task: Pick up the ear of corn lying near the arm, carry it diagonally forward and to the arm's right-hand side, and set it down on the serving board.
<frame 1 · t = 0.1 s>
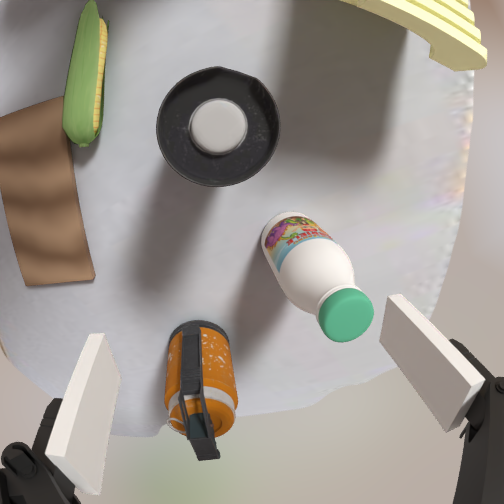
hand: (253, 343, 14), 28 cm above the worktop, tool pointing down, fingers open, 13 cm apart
milk bottle: (288, 237, 43), on the worktop
edible corn: (94, 69, 31), on the worktop
canister: (197, 335, 46), on the worktop
travel mug: (210, 128, 36), on the worktop
serving board: (39, 196, 35), on the worktop
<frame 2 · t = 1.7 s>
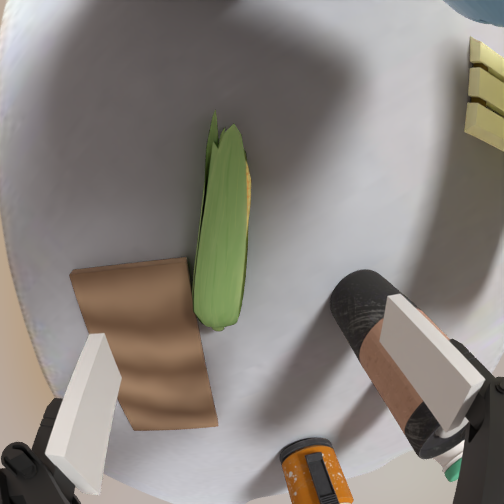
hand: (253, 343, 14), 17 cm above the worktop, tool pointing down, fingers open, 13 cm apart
milk bottle: (397, 371, 42), on the worktop
edible corn: (222, 220, 29), on the worktop
canister: (304, 445, 45), on the worktop
travel mug: (357, 296, 35), on the worktop
slatted curved stool: (503, 104, 28), on the worktop
serving board: (152, 360, 34), on the worktop
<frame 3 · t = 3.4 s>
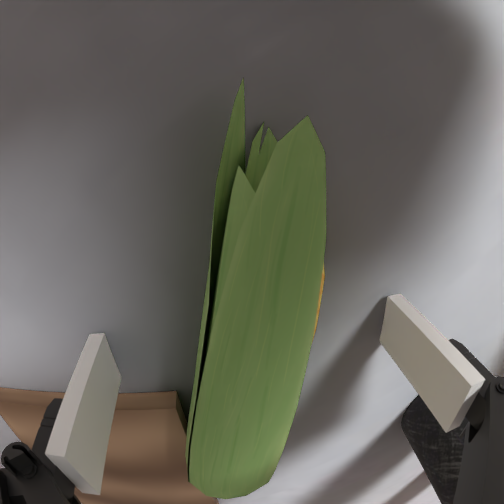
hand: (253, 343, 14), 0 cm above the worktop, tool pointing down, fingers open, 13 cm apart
edible corn: (244, 327, 14), on the worktop
travel mug: (437, 400, 20), on the worktop
serving board: (138, 490, 18), on the worktop
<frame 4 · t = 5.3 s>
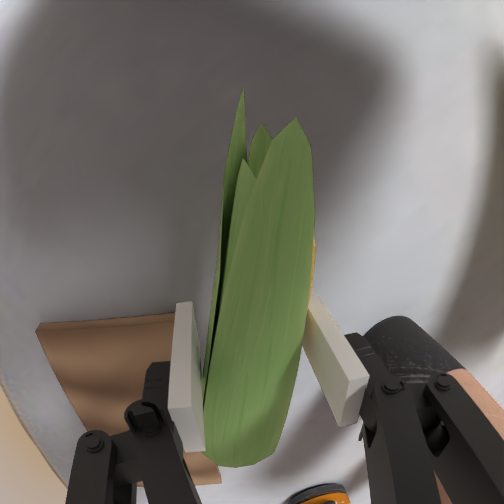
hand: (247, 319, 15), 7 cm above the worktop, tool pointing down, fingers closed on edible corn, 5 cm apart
edible corn: (248, 303, 16), point 6 cm above the worktop, touching gripper
canister: (315, 490, 38), on the worktop
travel mug: (385, 345, 28), on the worktop
serving board: (143, 422, 26), on the worktop
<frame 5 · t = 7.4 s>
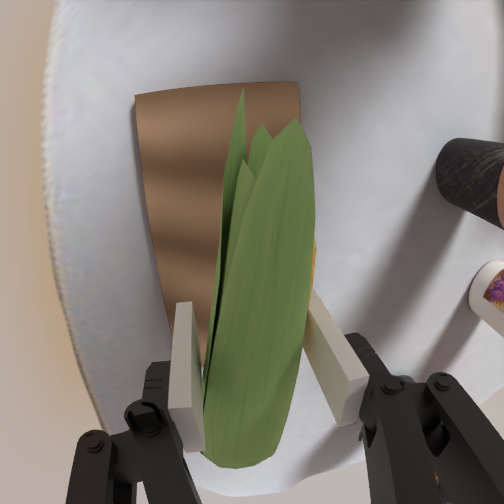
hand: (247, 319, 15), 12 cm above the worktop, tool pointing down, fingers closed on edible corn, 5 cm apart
milk bottle: (484, 284, 34), on the worktop
edible corn: (248, 304, 16), point 11 cm above the worktop, touching gripper
travel mug: (457, 170, 27), on the worktop
serving board: (228, 238, 26), on the worktop
when the fingers open (2 cm above the worktop, at t = 9.6 s): edible corn stays where it is, resting on serving board.
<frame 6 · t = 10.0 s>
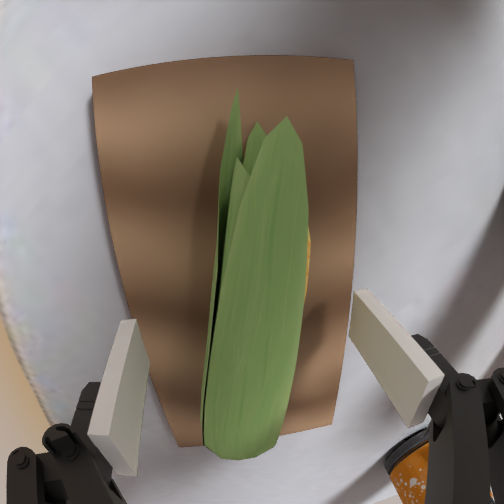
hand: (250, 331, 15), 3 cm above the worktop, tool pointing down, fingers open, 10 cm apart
edible corn: (248, 297, 17), point 1 cm above the worktop, touching serving board
canister: (416, 439, 29), on the worktop
serving board: (241, 296, 18), on the worktop
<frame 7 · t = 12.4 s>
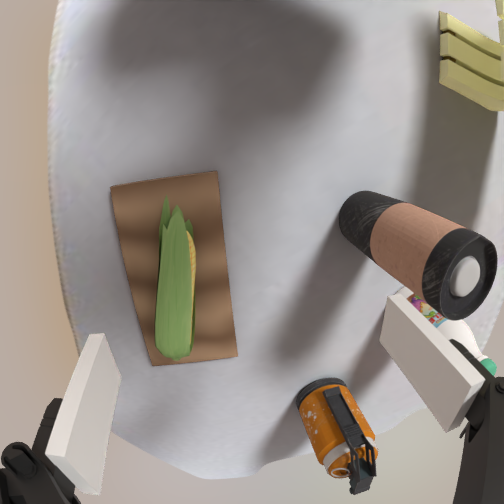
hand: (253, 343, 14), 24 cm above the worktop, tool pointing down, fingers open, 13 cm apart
milk bottle: (404, 304, 46), on the worktop
edible corn: (177, 277, 37), point 1 cm above the worktop, touching serving board
canister: (320, 389, 49), on the worktop
travel mug: (362, 216, 40), on the worktop
slatted curved stool: (473, 64, 34), on the worktop
serving board: (178, 278, 38), on the worktop
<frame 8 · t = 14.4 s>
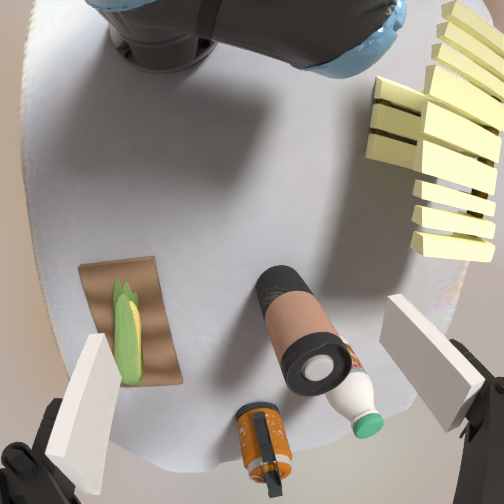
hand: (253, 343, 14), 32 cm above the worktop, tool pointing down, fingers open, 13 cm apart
milk bottle: (326, 348, 56), on the worktop
edible corn: (130, 328, 47), point 1 cm above the worktop, touching serving board
canister: (256, 409, 60), on the worktop
travel mug: (278, 285, 50), on the worktop
slatted curved stool: (411, 128, 43), on the worktop
serving board: (134, 328, 49), on the worktop
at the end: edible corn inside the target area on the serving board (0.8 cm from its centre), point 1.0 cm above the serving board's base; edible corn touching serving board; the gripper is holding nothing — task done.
